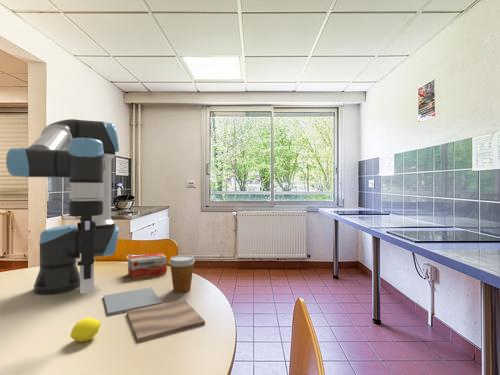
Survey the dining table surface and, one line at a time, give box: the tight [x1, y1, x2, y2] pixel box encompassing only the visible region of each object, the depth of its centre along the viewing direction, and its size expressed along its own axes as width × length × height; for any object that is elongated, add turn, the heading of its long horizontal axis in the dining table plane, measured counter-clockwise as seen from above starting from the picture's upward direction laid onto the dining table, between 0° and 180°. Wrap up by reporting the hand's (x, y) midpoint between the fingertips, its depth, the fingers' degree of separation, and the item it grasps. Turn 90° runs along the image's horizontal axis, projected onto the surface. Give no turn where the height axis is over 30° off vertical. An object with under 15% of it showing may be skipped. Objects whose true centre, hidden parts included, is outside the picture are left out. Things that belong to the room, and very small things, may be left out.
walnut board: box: [126, 299, 206, 343], centre depth 84 cm, size 18×18×1 cm
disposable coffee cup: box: [168, 254, 196, 293], centre depth 108 cm, size 10×10×12 cm
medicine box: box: [127, 252, 168, 280], centre depth 127 cm, size 15×8×8 cm, turn 121°
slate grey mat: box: [103, 287, 163, 316], centre depth 97 cm, size 16×16×1 cm
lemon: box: [70, 317, 102, 343], centre depth 73 cm, size 7×5×5 cm
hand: (86, 283), depth 73 cm, fingers open, 13 cm apart
